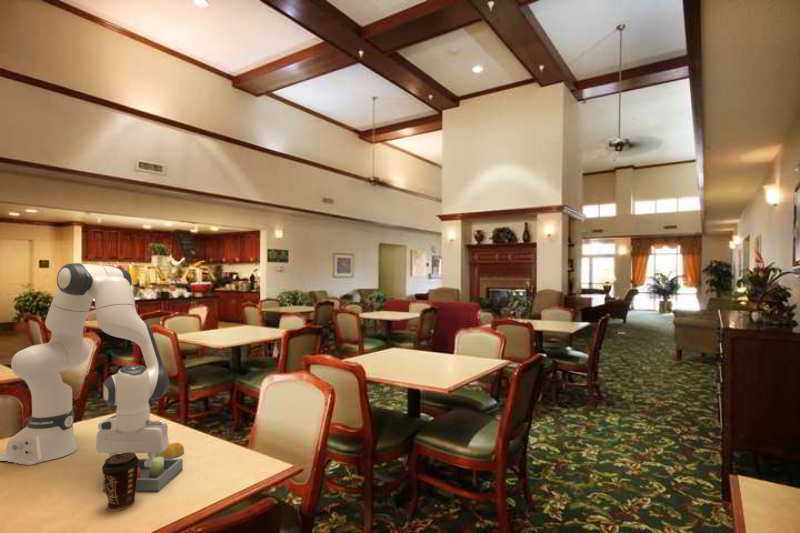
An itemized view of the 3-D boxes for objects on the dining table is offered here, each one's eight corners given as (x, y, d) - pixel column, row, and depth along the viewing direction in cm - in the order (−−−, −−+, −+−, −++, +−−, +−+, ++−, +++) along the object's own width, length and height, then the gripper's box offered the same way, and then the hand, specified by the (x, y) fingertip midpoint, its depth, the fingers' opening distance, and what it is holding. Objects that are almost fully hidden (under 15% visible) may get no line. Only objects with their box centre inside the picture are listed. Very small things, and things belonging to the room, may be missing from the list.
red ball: (129, 477, 134) (129, 463, 134) (144, 478, 134) (144, 463, 134) (120, 485, 129) (120, 470, 129) (135, 485, 129) (135, 470, 129)
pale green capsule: (153, 472, 137) (153, 456, 137) (166, 472, 137) (166, 456, 137) (146, 478, 133) (146, 462, 133) (159, 478, 133) (159, 462, 133)
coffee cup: (114, 496, 124) (114, 451, 124) (144, 495, 124) (145, 450, 125) (95, 514, 115) (95, 464, 115) (128, 512, 116) (128, 463, 116)
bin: (103, 491, 127) (103, 479, 127) (133, 469, 141) (133, 458, 141) (158, 492, 126) (158, 480, 126) (182, 469, 140) (182, 458, 140)
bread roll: (187, 454, 152) (187, 443, 153) (159, 463, 146) (160, 451, 146) (178, 447, 158) (178, 436, 158) (151, 455, 151) (151, 444, 151)
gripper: (172, 417, 135) (172, 462, 135) (107, 416, 135) (106, 461, 135) (161, 424, 128) (161, 471, 128) (92, 424, 129) (92, 471, 128)
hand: (132, 466), depth 132 cm, fingers open, 8 cm apart
